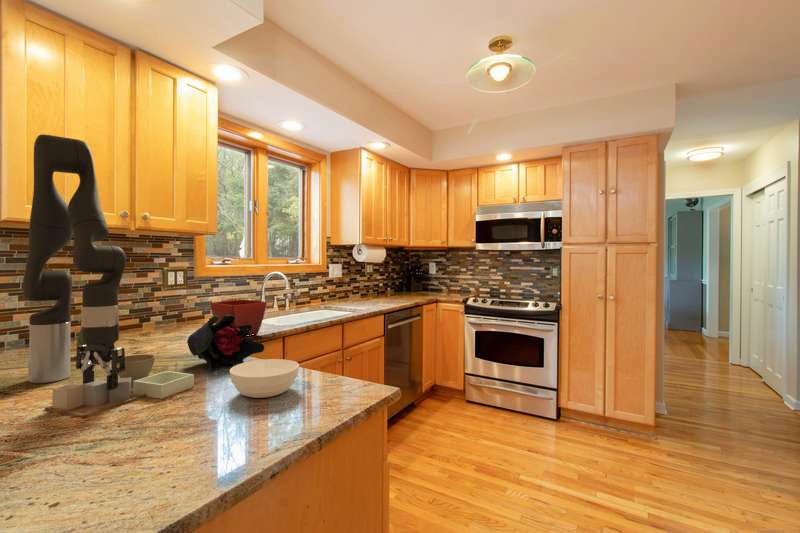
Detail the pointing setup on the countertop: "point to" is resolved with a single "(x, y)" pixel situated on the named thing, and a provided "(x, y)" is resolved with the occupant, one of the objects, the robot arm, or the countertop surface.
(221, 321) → the decorative plant
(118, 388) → the stone basalt
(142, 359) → the flower pot
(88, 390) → the stone slate
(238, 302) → the plant pot
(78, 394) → the stone sand
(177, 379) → the green bin
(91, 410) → the walnut tray
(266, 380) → the bowl
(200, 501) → the countertop surface
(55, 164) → the robot arm
